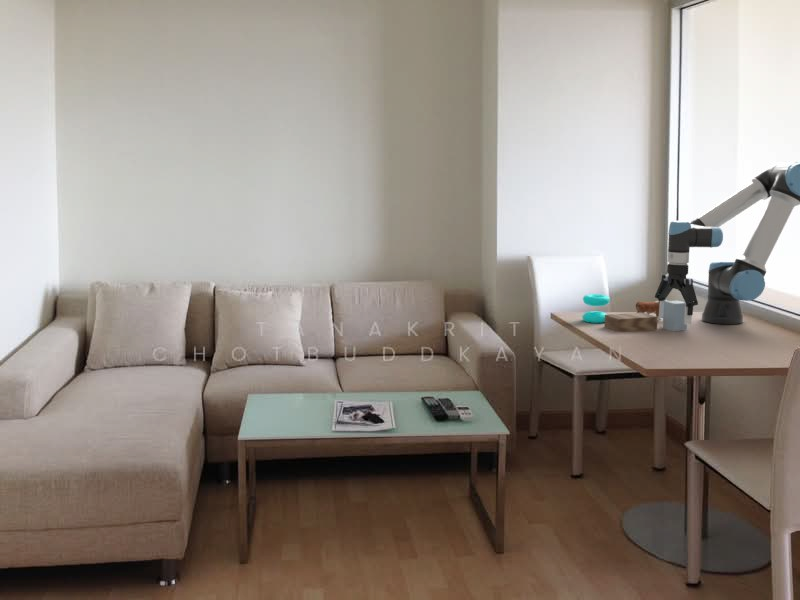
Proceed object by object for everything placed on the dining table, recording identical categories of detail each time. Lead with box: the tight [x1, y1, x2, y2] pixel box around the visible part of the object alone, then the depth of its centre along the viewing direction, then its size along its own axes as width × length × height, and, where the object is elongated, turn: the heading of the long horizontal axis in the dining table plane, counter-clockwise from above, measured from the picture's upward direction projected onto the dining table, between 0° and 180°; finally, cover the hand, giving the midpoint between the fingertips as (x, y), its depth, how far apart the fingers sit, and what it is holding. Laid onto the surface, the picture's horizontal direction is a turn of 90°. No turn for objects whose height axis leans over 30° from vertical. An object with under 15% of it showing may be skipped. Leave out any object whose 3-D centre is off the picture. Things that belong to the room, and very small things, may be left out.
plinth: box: [603, 312, 658, 333], centre depth 355 cm, size 16×10×5 cm, turn 108°
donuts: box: [581, 293, 611, 324], centre depth 369 cm, size 10×10×10 cm
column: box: [662, 300, 688, 332], centre depth 354 cm, size 6×6×10 cm
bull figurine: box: [635, 299, 668, 322], centre depth 372 cm, size 4×13×8 cm, turn 81°
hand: (674, 321), depth 354 cm, fingers open, 13 cm apart
